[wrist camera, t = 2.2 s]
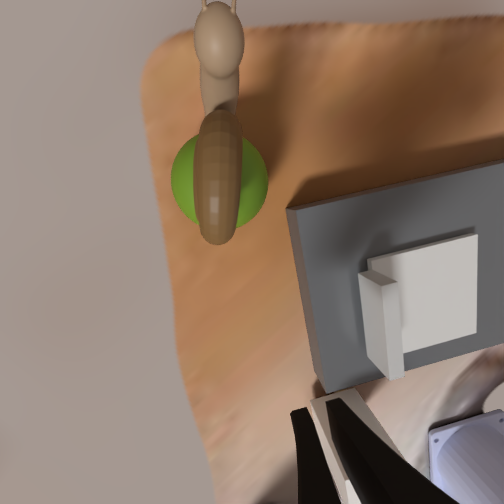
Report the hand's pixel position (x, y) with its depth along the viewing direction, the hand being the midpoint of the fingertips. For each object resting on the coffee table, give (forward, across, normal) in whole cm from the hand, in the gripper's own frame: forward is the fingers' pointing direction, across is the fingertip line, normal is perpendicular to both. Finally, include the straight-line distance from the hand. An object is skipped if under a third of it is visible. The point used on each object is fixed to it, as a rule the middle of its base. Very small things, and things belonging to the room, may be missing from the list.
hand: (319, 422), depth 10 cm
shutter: (+7, -10, 0) cm, 12 cm away
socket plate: (+9, -14, -1) cm, 16 cm away
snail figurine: (+10, +2, -11) cm, 15 cm away
